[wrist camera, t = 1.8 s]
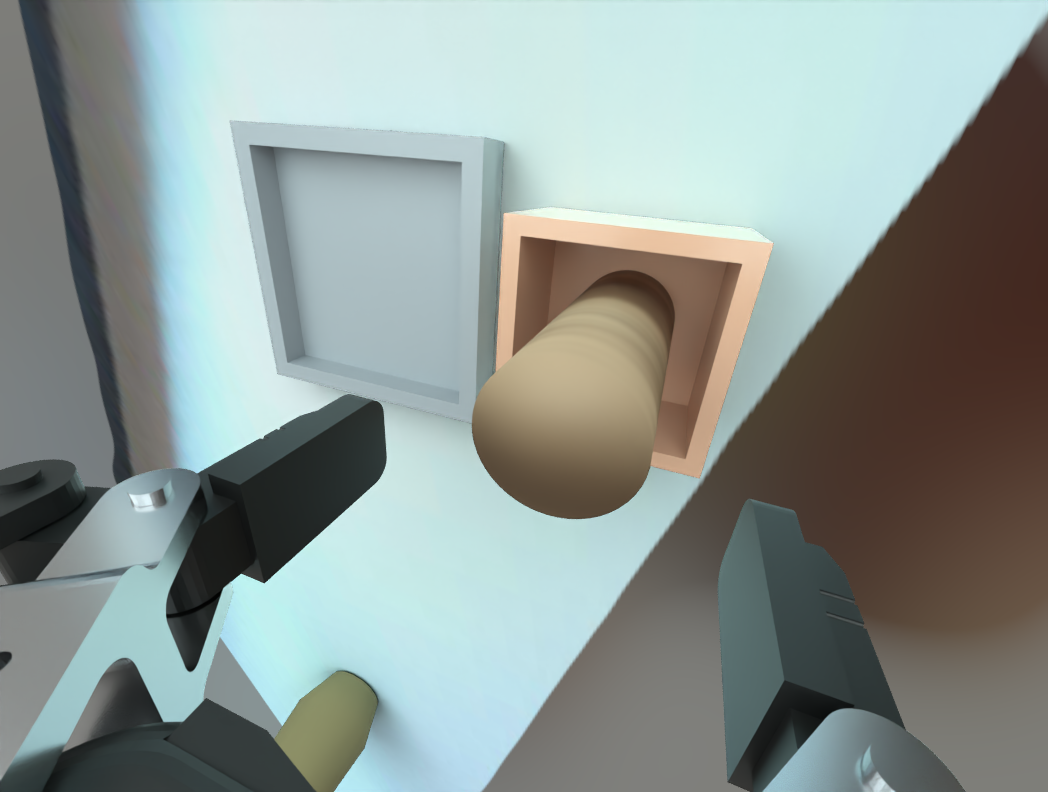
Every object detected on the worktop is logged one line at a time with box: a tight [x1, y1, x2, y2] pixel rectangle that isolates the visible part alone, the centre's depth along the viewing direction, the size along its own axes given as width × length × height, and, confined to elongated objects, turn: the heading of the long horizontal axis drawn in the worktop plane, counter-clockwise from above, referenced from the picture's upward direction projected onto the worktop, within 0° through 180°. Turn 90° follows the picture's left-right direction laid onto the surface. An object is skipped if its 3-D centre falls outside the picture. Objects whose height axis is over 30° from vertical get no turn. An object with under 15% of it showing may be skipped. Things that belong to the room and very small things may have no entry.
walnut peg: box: [472, 270, 675, 519], centre depth 16 cm, size 4×4×12 cm
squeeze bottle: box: [274, 671, 378, 792], centre depth 40 cm, size 8×8×18 cm
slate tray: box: [230, 121, 504, 423], centre depth 25 cm, size 14×14×2 cm
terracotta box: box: [495, 207, 774, 478], centre depth 19 cm, size 9×9×6 cm
